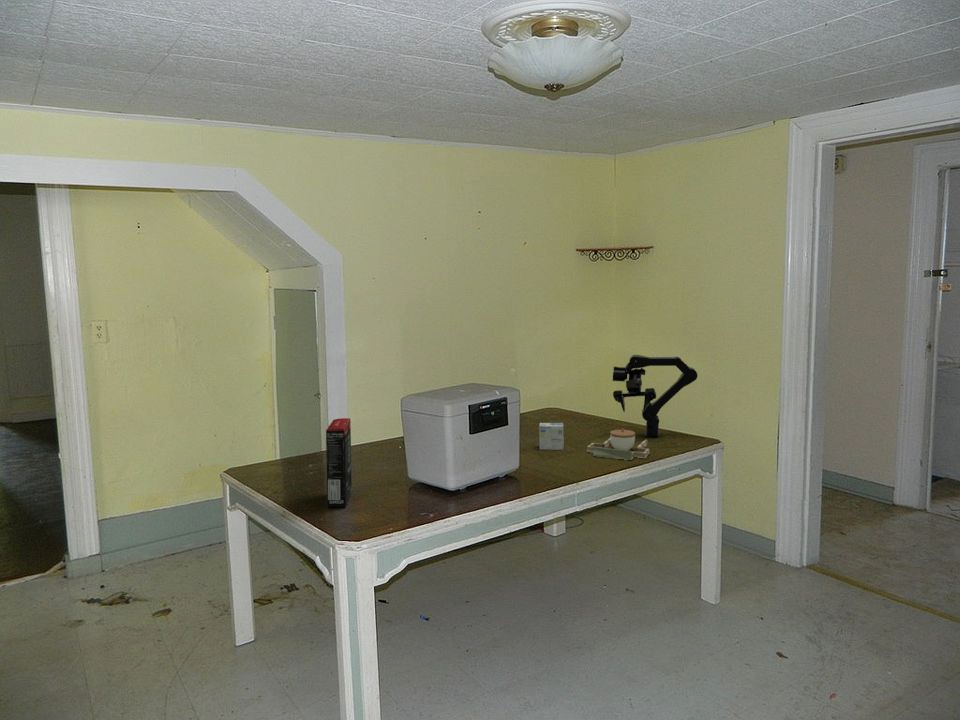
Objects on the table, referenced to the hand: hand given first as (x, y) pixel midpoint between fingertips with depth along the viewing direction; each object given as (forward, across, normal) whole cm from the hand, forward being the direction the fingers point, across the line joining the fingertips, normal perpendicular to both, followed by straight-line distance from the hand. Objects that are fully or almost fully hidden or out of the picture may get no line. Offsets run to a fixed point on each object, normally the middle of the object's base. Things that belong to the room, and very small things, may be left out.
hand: (634, 411), depth 320 cm
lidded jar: (+21, -4, -4) cm, 22 cm away
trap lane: (+22, -4, -5) cm, 23 cm away
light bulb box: (+23, -33, -12) cm, 42 cm away
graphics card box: (+76, -81, -88) cm, 142 cm away
